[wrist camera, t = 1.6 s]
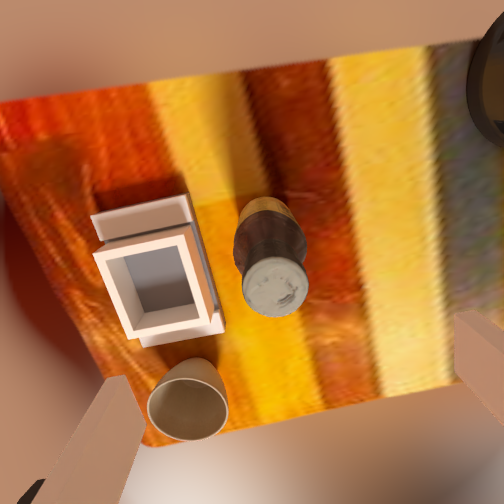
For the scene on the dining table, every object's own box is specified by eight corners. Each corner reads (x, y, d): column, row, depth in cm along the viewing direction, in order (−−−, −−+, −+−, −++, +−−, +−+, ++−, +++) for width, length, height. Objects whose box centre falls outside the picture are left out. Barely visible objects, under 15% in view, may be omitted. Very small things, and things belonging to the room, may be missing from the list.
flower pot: (236, 346, 43) (233, 384, 37) (226, 402, 47) (222, 446, 40) (164, 337, 43) (148, 373, 36) (160, 393, 46) (144, 436, 39)
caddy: (188, 192, 36) (178, 200, 31) (225, 322, 42) (222, 348, 37) (99, 211, 37) (74, 223, 32) (148, 337, 43) (134, 364, 37)
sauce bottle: (293, 240, 38) (335, 335, 19) (243, 248, 38) (236, 349, 20) (286, 187, 36) (325, 235, 17) (233, 196, 36) (215, 253, 18)
